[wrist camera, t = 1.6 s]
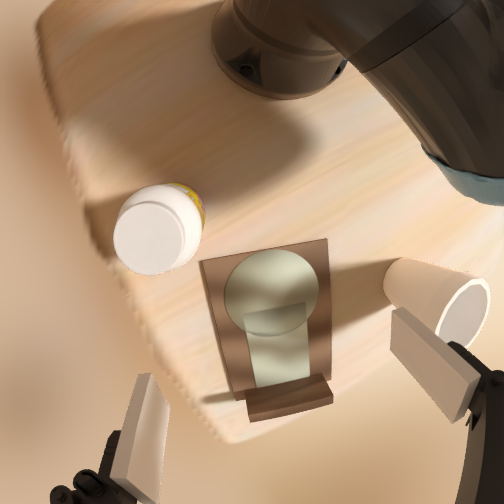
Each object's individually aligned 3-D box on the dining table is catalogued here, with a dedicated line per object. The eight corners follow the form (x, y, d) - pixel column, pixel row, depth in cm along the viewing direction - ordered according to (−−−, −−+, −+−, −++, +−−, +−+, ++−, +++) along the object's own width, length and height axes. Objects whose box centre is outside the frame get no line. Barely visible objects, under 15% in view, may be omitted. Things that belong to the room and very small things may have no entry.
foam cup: (367, 312, 35) (421, 367, 23) (379, 245, 33) (448, 281, 21) (418, 307, 37) (474, 349, 24) (431, 246, 34) (498, 276, 22)
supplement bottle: (197, 251, 30) (185, 302, 18) (139, 236, 29) (93, 277, 17) (213, 190, 29) (211, 202, 17) (153, 175, 28) (109, 177, 15)
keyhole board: (202, 260, 31) (200, 277, 26) (326, 238, 32) (345, 250, 27) (235, 399, 37) (239, 426, 31) (330, 378, 38) (343, 401, 33)
